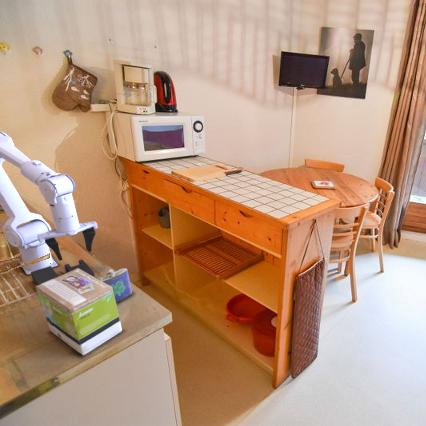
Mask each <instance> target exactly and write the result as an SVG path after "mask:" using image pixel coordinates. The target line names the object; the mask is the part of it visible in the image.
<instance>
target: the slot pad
mask: <svg viewBox="0 0 426 426" xmlns="http://www.w3.org/2000/svg"><path fill="white" fill-rule="evenodd" d="M63 266H64V269H65V274H66V273H68V272H70V271H73V270H75V269H77V268H79V269H81V270H82V271H84V272H86V273H88V274H90V275H91V276H93V277H95V273H94V270H93V269H92V268H91V267H90V266H89V264H88V263H86V262H85V260H83V259H79V260H78V264H76V265H73V266H71V265H70V264H69V263H65V264H63ZM95 278H96V277H95Z"/></svg>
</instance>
